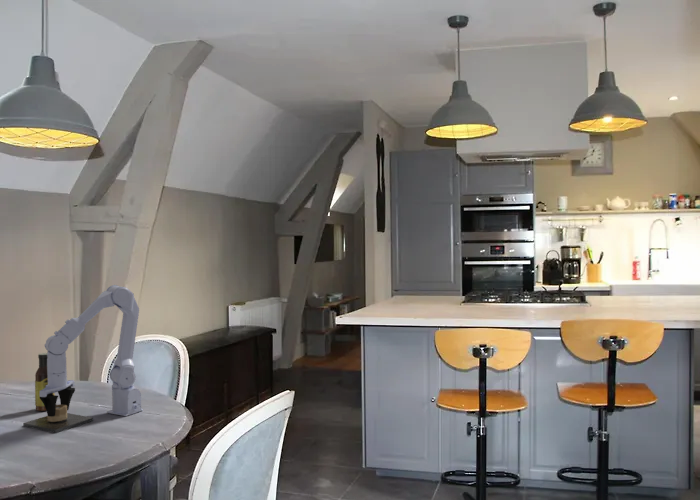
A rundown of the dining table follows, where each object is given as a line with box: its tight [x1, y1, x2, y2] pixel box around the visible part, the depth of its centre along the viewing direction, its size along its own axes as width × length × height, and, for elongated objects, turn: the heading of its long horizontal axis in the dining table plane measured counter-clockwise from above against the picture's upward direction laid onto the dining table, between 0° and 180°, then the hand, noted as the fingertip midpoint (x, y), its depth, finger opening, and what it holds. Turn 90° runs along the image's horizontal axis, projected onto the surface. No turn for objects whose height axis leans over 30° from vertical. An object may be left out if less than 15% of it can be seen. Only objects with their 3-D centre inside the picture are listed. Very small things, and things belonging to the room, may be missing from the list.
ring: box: [46, 403, 68, 422], centre depth 207 cm, size 6×6×4 cm
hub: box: [22, 407, 94, 434], centre depth 207 cm, size 16×14×5 cm
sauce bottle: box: [34, 352, 56, 412], centre depth 224 cm, size 6×6×20 cm
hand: (58, 413), depth 207 cm, fingers closed on ring, 6 cm apart
